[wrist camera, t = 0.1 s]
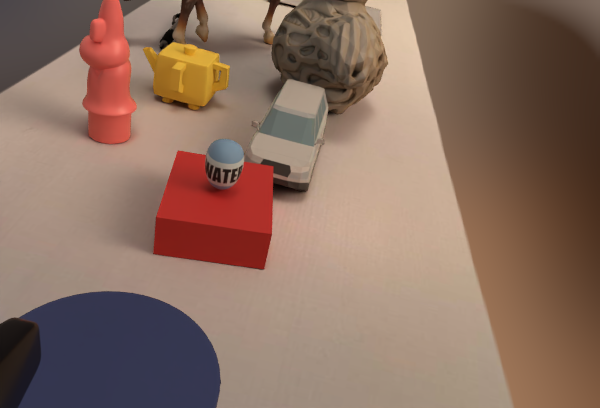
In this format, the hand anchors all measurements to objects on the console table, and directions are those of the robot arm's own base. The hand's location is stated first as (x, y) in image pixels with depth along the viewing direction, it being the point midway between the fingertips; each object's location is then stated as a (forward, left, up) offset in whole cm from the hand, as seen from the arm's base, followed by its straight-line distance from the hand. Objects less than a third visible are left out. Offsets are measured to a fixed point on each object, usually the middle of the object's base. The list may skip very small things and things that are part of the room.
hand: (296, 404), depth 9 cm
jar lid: (+4, +5, -6) cm, 9 cm away
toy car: (+35, +3, -15) cm, 38 cm away
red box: (+24, +6, -15) cm, 29 cm away
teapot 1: (+41, +14, -15) cm, 45 cm away
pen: (+58, +21, -15) cm, 63 cm away
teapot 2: (+49, +2, -15) cm, 52 cm away
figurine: (+32, +17, -15) cm, 39 cm away
